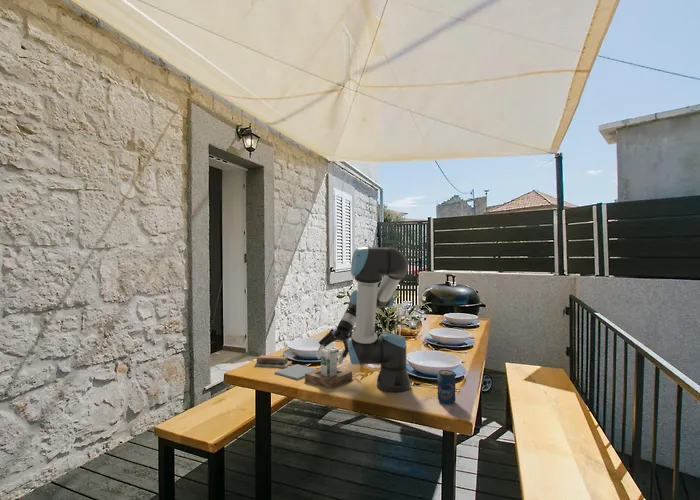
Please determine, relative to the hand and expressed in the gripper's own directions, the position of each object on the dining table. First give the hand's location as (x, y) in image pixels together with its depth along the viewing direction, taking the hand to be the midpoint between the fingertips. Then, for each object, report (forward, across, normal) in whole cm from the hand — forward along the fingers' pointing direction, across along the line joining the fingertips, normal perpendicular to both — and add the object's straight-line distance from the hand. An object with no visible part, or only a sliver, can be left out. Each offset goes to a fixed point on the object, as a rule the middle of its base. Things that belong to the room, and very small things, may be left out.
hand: (328, 360), depth 167 cm
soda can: (+1, -56, -12) cm, 57 cm away
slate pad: (+8, +19, -5) cm, 21 cm away
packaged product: (+7, +39, -7) cm, 41 cm away
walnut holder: (+7, -1, -6) cm, 9 cm away
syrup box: (+7, -1, -6) cm, 9 cm away
